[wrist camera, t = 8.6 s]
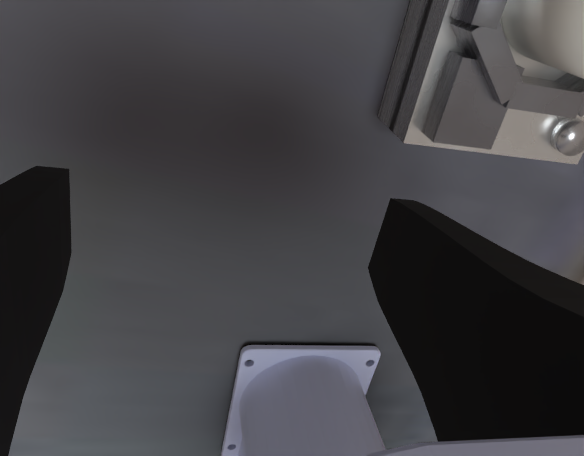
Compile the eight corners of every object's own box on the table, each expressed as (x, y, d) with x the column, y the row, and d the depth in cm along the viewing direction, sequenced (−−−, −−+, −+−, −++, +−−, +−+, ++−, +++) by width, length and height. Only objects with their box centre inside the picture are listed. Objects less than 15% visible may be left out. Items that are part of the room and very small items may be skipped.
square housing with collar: (534, 137, 24) (602, 180, 20) (377, 116, 21) (419, 159, 18) (649, -116, 19) (768, -124, 15) (460, -176, 17) (542, -201, 13)
